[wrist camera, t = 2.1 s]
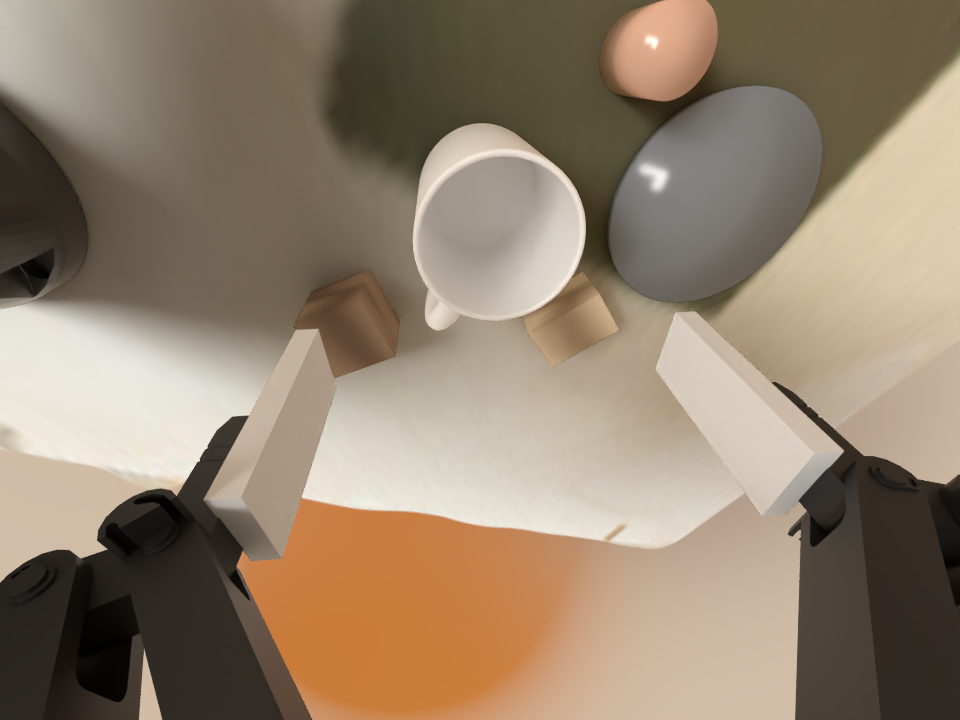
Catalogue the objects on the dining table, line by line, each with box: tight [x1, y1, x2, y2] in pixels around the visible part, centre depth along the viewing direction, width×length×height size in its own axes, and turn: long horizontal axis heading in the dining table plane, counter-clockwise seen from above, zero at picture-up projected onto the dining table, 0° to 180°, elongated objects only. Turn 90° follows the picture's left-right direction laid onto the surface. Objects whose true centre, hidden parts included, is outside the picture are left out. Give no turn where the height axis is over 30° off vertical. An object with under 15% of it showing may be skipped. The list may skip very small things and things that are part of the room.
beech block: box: [522, 272, 619, 367], centre depth 31 cm, size 6×4×4 cm, turn 124°
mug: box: [413, 123, 586, 330], centre depth 23 cm, size 12×8×10 cm
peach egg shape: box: [599, 0, 718, 101], centre depth 20 cm, size 4×4×5 cm
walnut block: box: [293, 270, 400, 378], centre depth 29 cm, size 5×5×5 cm
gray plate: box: [607, 85, 822, 302], centre depth 28 cm, size 15×15×1 cm
